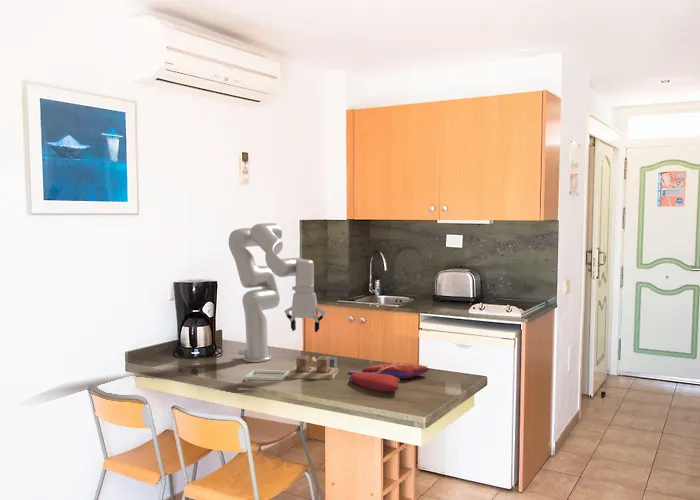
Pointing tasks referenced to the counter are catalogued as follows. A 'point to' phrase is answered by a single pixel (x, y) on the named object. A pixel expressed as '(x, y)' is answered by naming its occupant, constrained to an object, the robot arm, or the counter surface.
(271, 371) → the tote
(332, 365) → the grey metal housing
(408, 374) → the anatomical model
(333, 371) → the pallet
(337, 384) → the counter surface
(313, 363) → the plunger
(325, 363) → the block
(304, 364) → the block
